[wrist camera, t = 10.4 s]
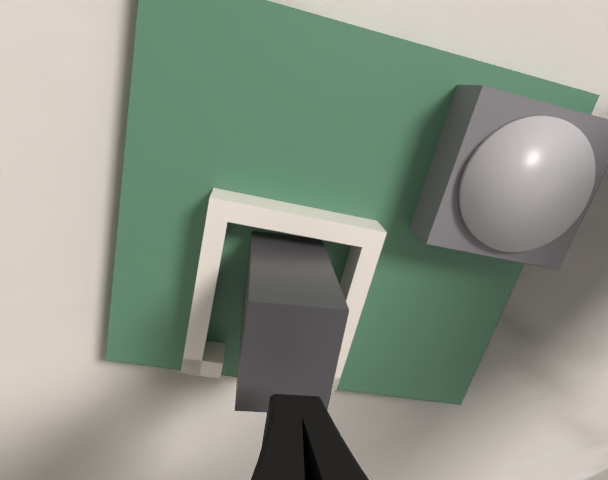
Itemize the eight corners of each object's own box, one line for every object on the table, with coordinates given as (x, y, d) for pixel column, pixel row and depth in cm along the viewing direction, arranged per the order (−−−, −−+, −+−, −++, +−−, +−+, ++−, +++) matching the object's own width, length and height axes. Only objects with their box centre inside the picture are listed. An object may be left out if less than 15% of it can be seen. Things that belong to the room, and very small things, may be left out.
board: (582, 94, 18) (648, 97, 15) (452, 391, 23) (481, 439, 20) (148, -28, 15) (119, -57, 12) (112, 347, 20) (86, 395, 17)
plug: (321, 238, 18) (349, 309, 13) (301, 347, 20) (317, 451, 14) (251, 230, 18) (248, 301, 12) (238, 342, 20) (230, 448, 14)
